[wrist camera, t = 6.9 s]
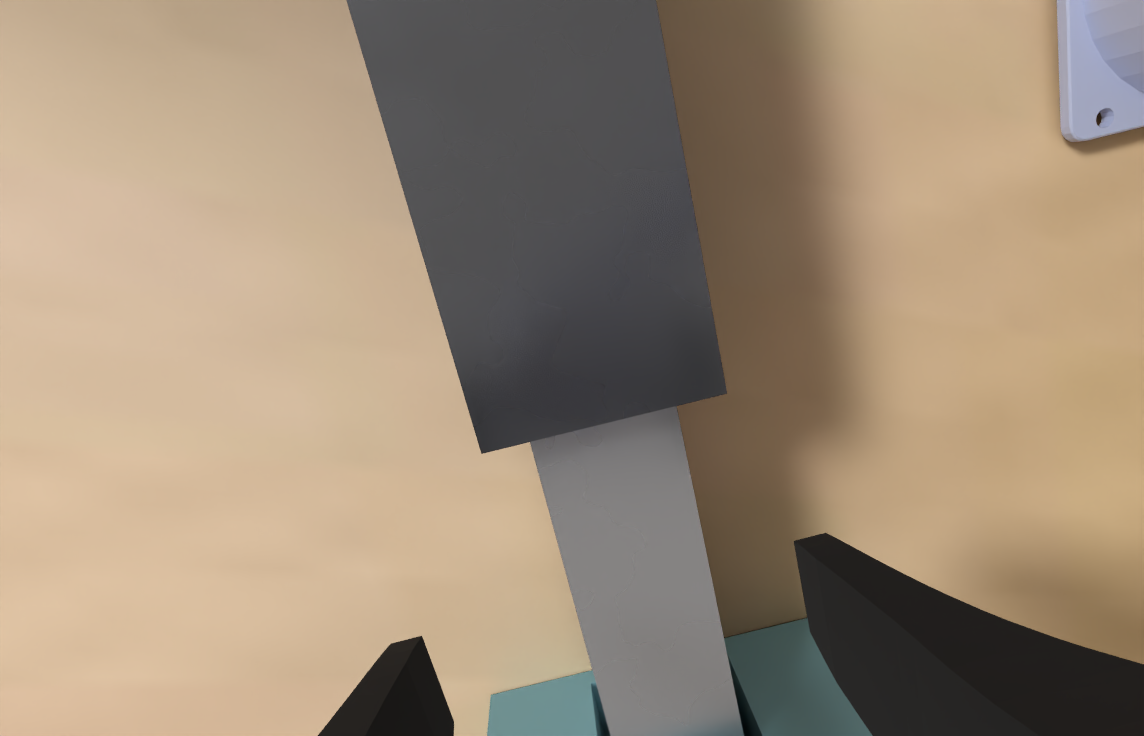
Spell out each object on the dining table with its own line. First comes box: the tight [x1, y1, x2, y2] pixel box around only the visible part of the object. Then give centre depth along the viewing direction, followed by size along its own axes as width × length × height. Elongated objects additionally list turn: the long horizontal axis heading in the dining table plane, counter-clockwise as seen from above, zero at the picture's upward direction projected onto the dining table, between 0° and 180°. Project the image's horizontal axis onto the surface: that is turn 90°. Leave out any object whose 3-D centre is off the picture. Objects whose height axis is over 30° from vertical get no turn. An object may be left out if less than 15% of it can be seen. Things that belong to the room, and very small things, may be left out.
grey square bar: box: [530, 406, 744, 736], centre depth 18 cm, size 4×18×4 cm, turn 13°
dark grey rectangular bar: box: [347, 0, 727, 454], centre depth 15 cm, size 6×14×6 cm, turn 14°
